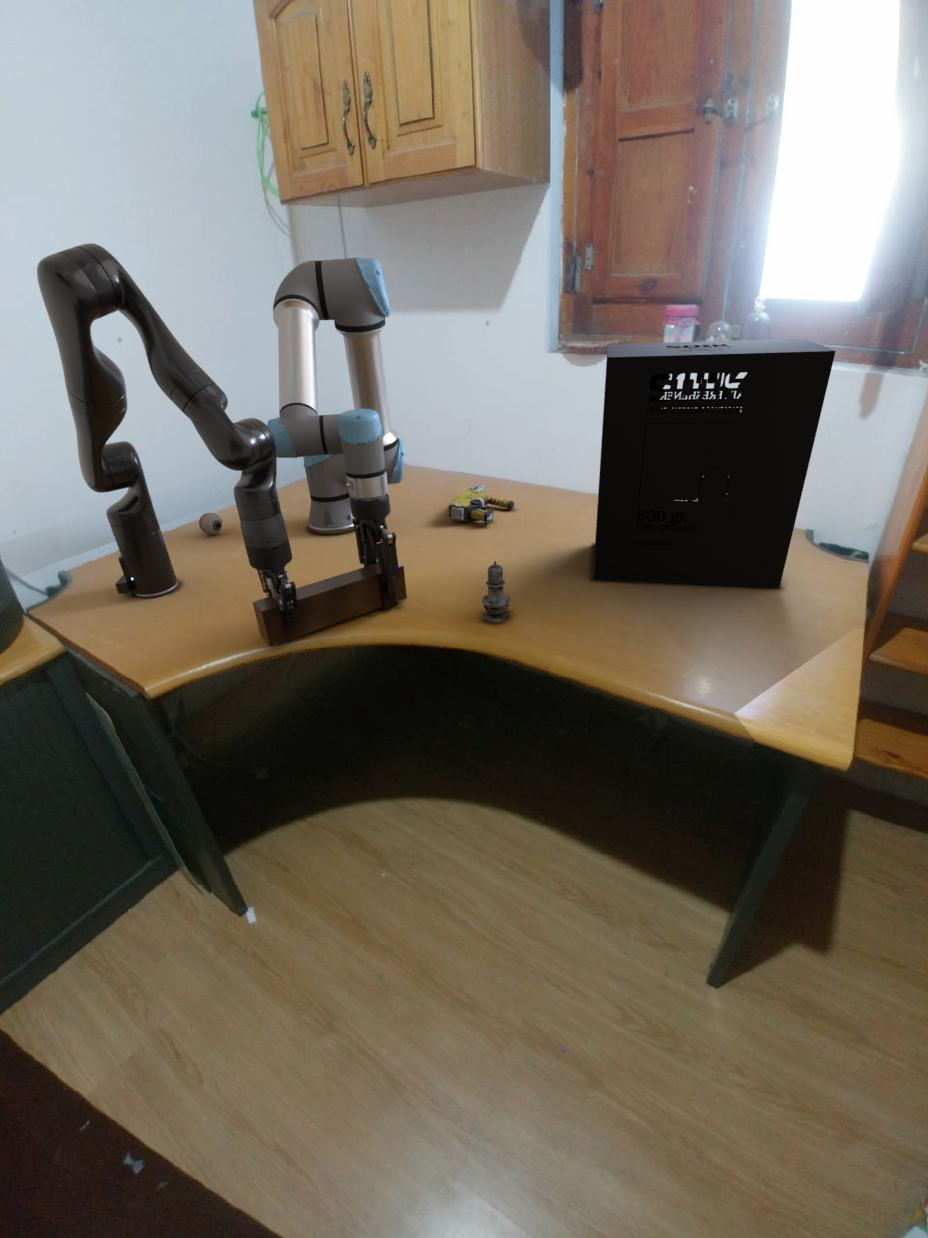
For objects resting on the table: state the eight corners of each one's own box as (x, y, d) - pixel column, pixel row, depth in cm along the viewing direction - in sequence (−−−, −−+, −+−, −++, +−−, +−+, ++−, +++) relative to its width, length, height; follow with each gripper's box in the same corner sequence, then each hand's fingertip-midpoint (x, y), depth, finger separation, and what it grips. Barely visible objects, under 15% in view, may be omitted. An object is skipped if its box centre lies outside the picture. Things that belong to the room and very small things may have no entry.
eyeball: (212, 539, 164) (206, 518, 161) (197, 535, 167) (191, 515, 164) (230, 531, 169) (224, 511, 166) (215, 528, 172) (210, 508, 169)
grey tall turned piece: (509, 624, 117) (508, 568, 111) (479, 622, 118) (477, 567, 112) (513, 609, 122) (512, 555, 116) (484, 607, 123) (482, 554, 117)
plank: (270, 646, 112) (261, 611, 109) (260, 636, 116) (252, 601, 112) (406, 598, 127) (403, 565, 124) (394, 590, 131) (391, 558, 127)
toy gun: (522, 488, 179) (474, 481, 183) (499, 513, 159) (446, 504, 163) (520, 503, 181) (473, 496, 185) (498, 529, 161) (446, 520, 165)
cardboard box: (759, 548, 141) (803, 338, 119) (779, 587, 124) (835, 350, 102) (595, 543, 149) (607, 344, 126) (593, 579, 132) (607, 357, 109)
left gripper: (232, 532, 110) (253, 613, 118) (259, 556, 100) (280, 643, 108) (271, 521, 113) (289, 601, 122) (302, 543, 103) (319, 628, 112)
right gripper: (330, 489, 120) (347, 592, 132) (374, 511, 107) (389, 624, 119) (364, 480, 124) (377, 582, 135) (410, 501, 111) (421, 611, 123)
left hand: (285, 620), depth 115 cm, fingers closed on plank, 5 cm apart
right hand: (383, 601), depth 127 cm, fingers closed on plank, 5 cm apart
